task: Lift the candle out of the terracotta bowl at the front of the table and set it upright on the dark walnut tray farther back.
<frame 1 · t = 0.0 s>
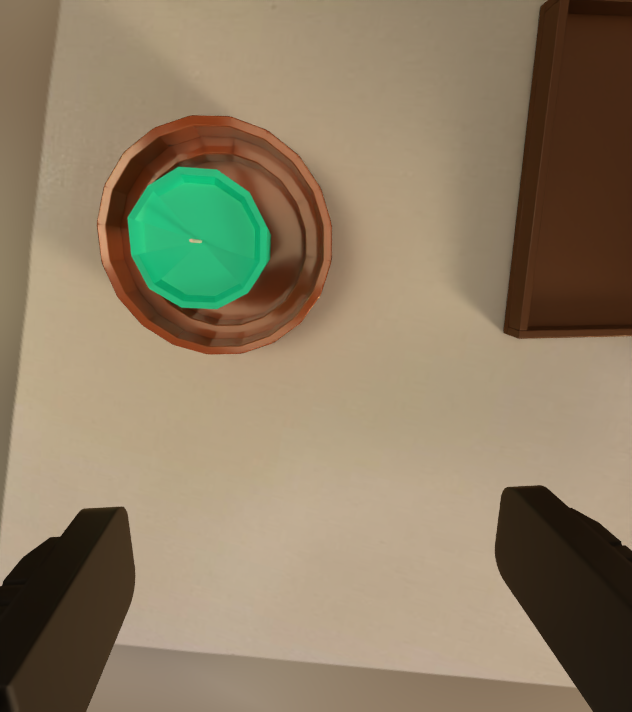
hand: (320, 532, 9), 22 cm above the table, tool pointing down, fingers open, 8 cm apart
bowl: (228, 244, 28), on the table
candle: (227, 244, 28), resting on bowl
tray: (620, 185, 30), on the table
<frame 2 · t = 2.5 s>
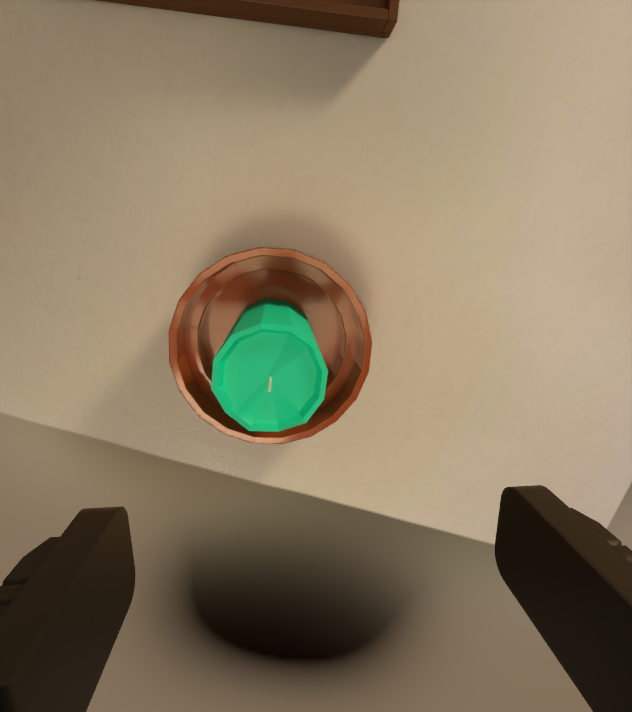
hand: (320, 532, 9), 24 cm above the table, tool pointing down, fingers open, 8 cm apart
bowl: (273, 336, 32), on the table
candle: (273, 336, 31), resting on bowl
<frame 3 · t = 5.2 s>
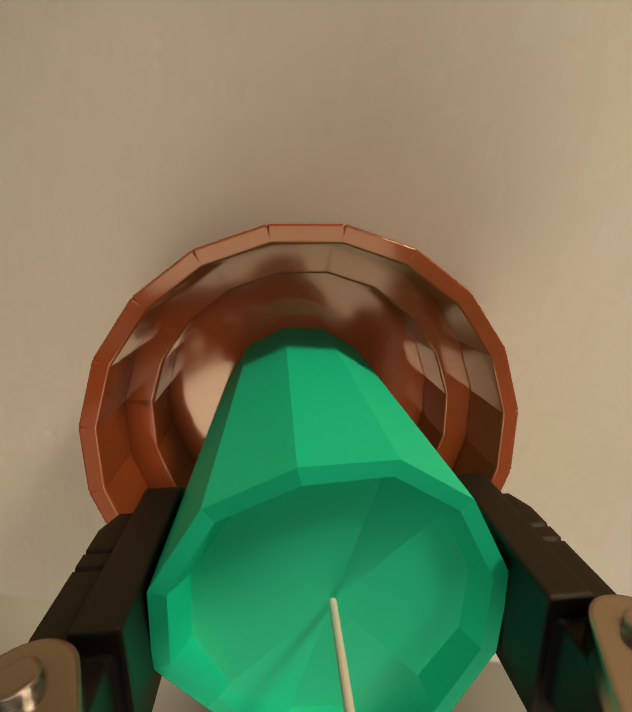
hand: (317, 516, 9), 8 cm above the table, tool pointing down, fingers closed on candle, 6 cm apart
bowl: (300, 394, 17), on the table
candle: (300, 396, 17), resting on bowl, touching gripper
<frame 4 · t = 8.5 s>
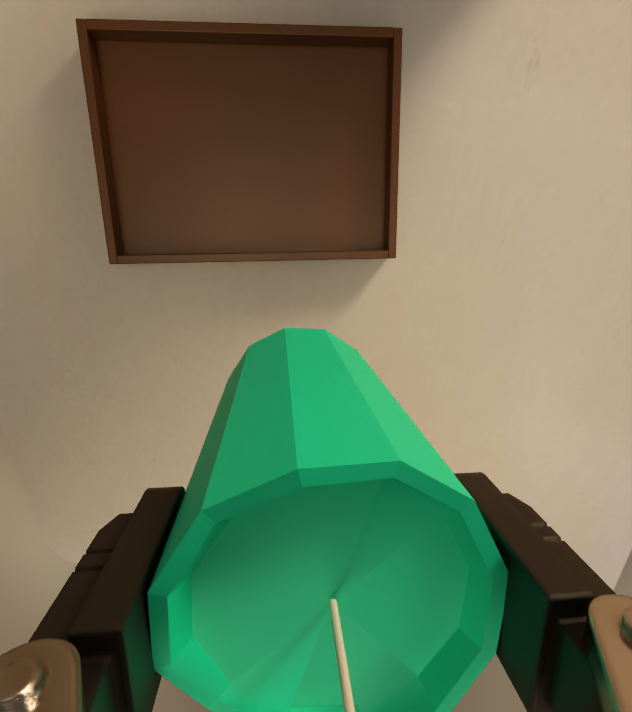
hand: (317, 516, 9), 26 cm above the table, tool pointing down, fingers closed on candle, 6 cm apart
candle: (300, 397, 17), point 18 cm above the table, touching gripper
tray: (252, 156, 31), on the table
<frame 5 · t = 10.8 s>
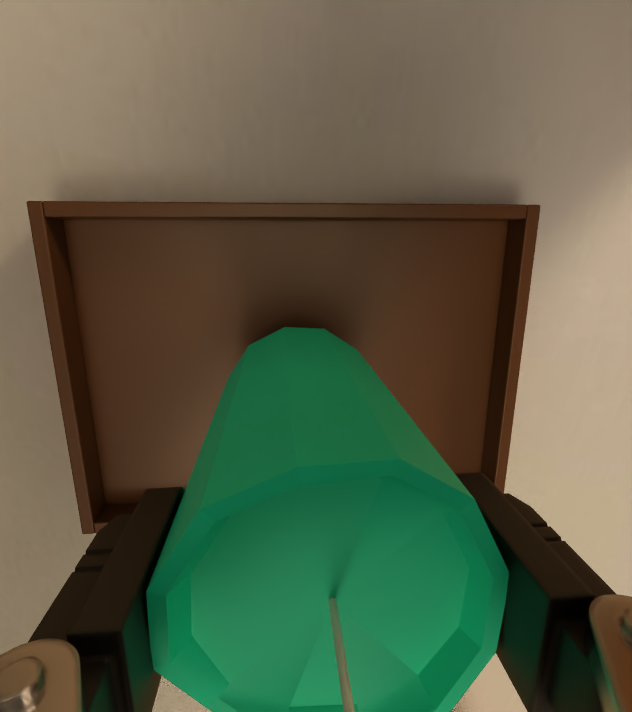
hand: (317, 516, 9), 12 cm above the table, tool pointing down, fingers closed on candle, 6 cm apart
candle: (300, 396, 17), point 4 cm above the table, touching gripper
tray: (297, 366, 21), on the table
when the fingers open (8 cm above the table, at t = 12.2 s): candle stays where it is, resting on tray.
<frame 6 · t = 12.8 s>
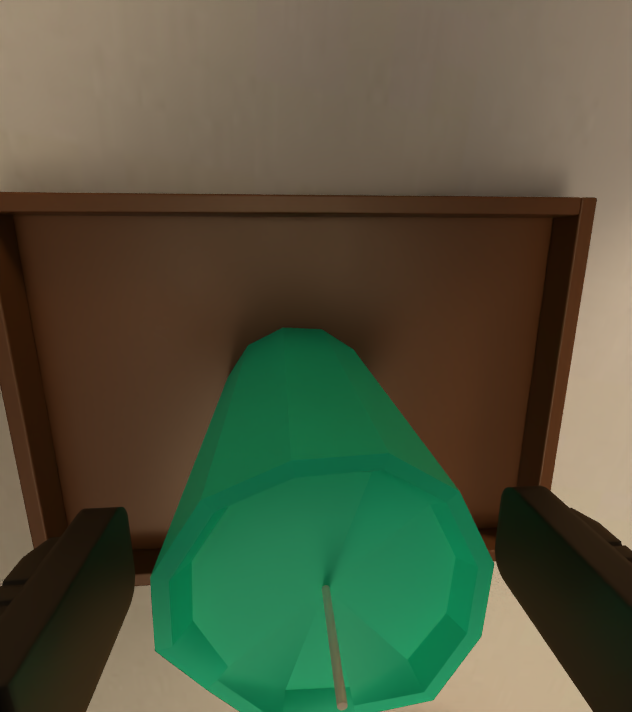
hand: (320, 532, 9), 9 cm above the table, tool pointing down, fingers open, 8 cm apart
candle: (298, 395, 17), resting on tray
tray: (299, 389, 18), on the table
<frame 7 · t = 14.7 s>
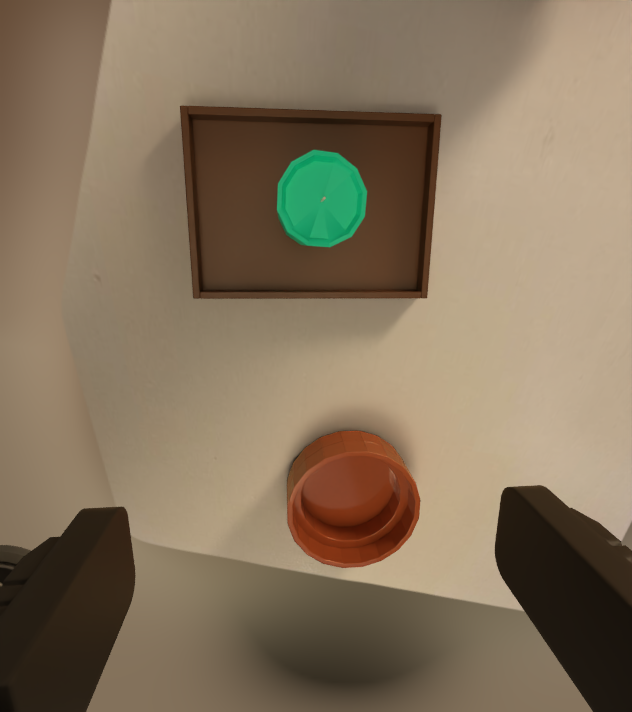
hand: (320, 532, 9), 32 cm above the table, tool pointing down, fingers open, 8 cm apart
bowl: (346, 483, 45), on the table
candle: (311, 212, 37), resting on tray
tray: (311, 211, 37), on the table
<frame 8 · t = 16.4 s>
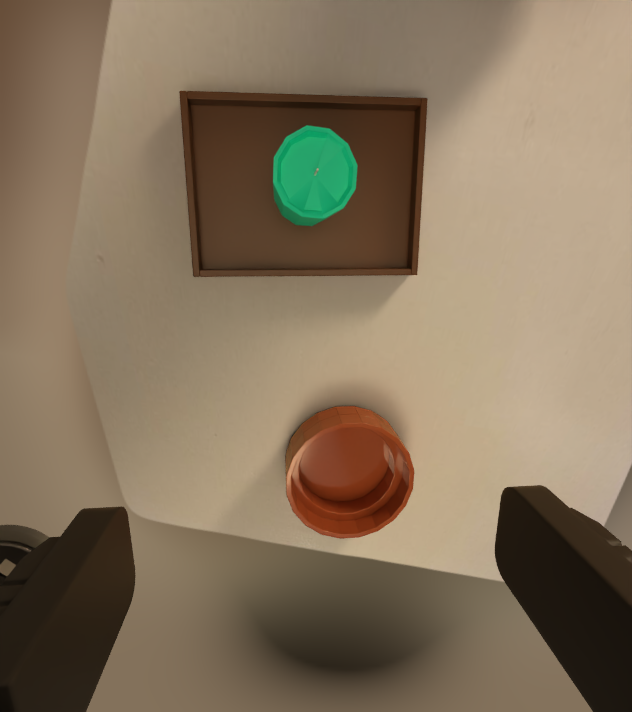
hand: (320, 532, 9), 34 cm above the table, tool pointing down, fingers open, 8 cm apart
bowl: (343, 458, 46), on the table
candle: (305, 193, 39), resting on tray
tray: (305, 192, 39), on the table
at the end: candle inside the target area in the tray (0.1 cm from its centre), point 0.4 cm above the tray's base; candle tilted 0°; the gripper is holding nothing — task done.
